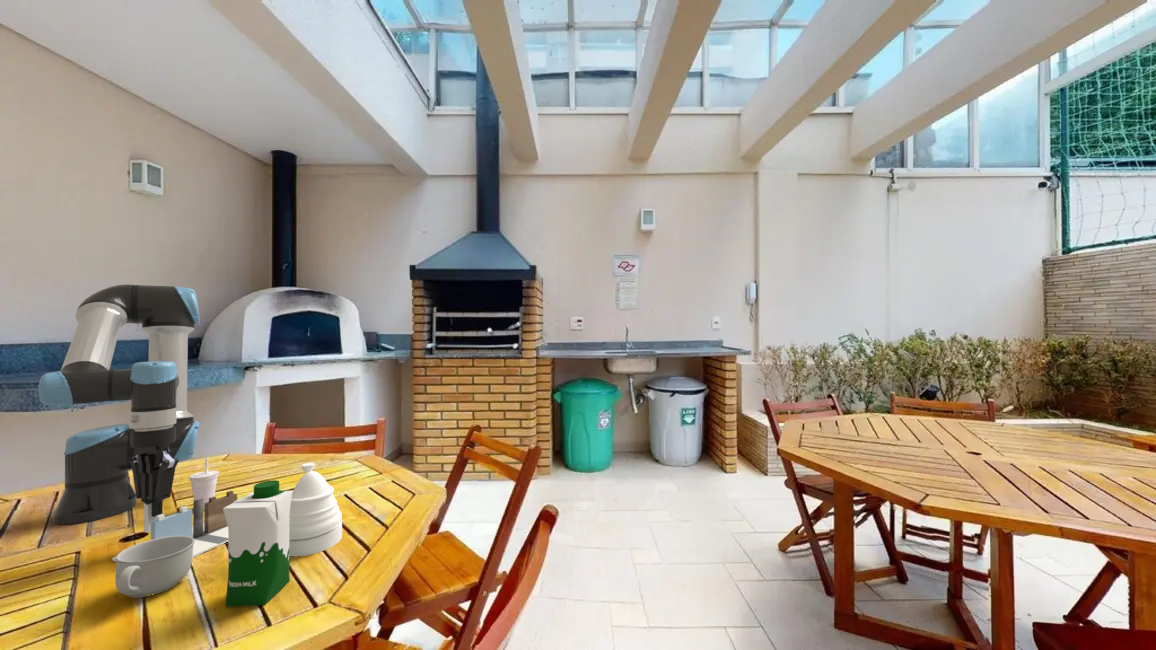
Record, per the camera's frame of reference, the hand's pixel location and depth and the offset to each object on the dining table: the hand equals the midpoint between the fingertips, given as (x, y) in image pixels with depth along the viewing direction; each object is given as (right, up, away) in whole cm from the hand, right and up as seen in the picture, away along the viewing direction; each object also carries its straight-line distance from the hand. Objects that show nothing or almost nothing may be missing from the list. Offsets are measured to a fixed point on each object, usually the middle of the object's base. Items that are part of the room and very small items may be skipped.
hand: (153, 529), depth 97 cm
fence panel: (+6, -3, -1) cm, 7 cm away
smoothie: (-7, -5, +21) cm, 23 cm away
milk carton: (+38, -4, -18) cm, 43 cm away
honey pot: (+36, -4, +1) cm, 36 cm away
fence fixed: (+8, -3, +7) cm, 12 cm away
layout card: (+8, -4, +2) cm, 9 cm away
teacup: (+17, -4, -17) cm, 25 cm away
